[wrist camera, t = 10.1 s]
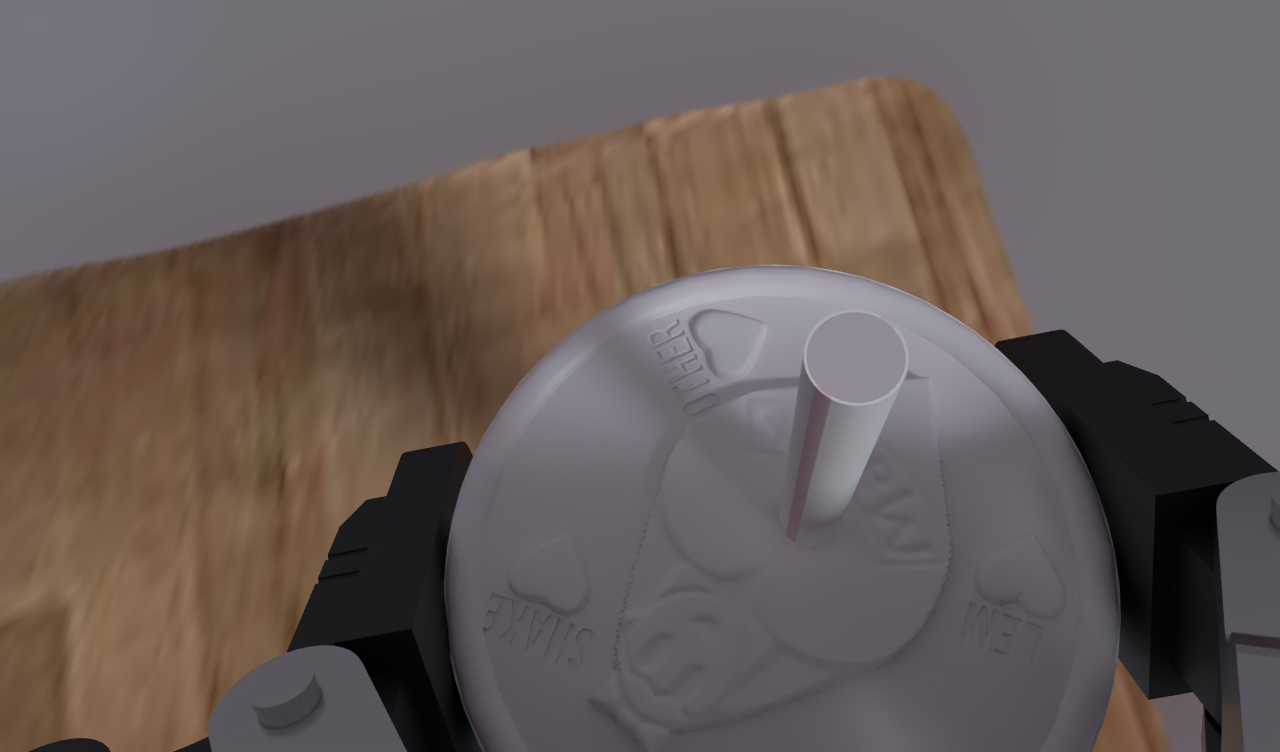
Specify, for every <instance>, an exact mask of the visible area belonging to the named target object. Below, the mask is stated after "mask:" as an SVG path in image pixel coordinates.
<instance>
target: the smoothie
mask: <svg viewBox="0 0 1280 752" xmlns="http://www.w3.org/2000/svg"><path fill="white" fill-rule="evenodd" d="M444 593H445V603H446V614H447V625H448V637H449V647H450V657H451V662H452V667H453V672H454V677H455V681H456V684H457V687H458V690H459V694H460V697H461V700H462V703H463V707H464V710H465V712H466V715H467V717H468V720H469V722H470V724H471V727H472V729H473V732H474V734H475V736H476V739H477V741H478V743H479V745H480V747H481V749H482V751H483V752H1092V749H1093V746H1094V744H1095V741H1096V739H1097V736H1098V734H1099V731H1100V729H1101V726H1102V724H1103V721H1104V718H1105V714H1106V710H1107V707H1108V703H1109V699H1110V696H1111V692H1112V689H1113V684H1114V678H1115V671H1116V665H1117V659H1118V653H1119V638H1120V621H1121V613H1120V589H1119V578H1118V571H1117V564H1116V557H1115V550H1114V546H1113V542H1112V538H1111V534H1110V530H1109V525H1108V522H1107V519H1106V516H1105V513H1104V510H1103V507H1102V504H1101V501H1100V498H1099V495H1098V492H1097V490H1096V487H1095V484H1094V481H1093V479H1092V477H1091V475H1090V472H1089V470H1088V468H1087V466H1086V464H1085V462H1084V460H1083V457H1082V455H1081V453H1080V452H1079V450H1078V448H1077V446H1076V445H1075V443H1074V441H1073V440H1072V438H1071V436H1070V434H1069V433H1068V431H1067V429H1066V428H1065V426H1064V424H1063V423H1062V422H1061V420H1060V419H1059V417H1058V416H1057V415H1056V413H1055V412H1054V410H1053V409H1052V408H1051V406H1050V405H1049V403H1048V402H1047V401H1046V399H1045V398H1044V397H1043V396H1042V395H1041V393H1040V392H1039V391H1038V390H1037V389H1036V388H1035V386H1034V385H1033V384H1032V383H1031V382H1030V381H1029V380H1028V378H1027V377H1026V376H1025V375H1024V374H1023V373H1022V372H1021V371H1020V370H1019V369H1018V368H1017V367H1016V366H1015V365H1014V364H1013V363H1012V362H1011V361H1010V360H1009V359H1008V358H1007V357H1006V356H1004V355H1003V354H1002V353H1001V352H1000V351H999V350H998V349H997V348H995V347H994V346H993V345H992V344H990V343H989V342H988V341H987V340H985V339H984V338H983V337H982V336H980V335H979V334H978V333H977V332H975V331H974V330H972V329H971V328H969V327H968V326H966V325H965V324H963V323H962V322H960V321H959V320H957V319H956V318H954V317H953V316H951V315H950V314H948V313H946V312H944V311H942V310H940V309H939V308H937V307H935V306H933V305H931V304H929V303H928V302H926V301H924V300H922V299H920V298H917V297H915V296H913V295H911V294H908V293H906V292H904V291H901V290H899V289H897V288H894V287H891V286H888V285H885V284H882V283H879V282H877V281H874V280H871V279H868V278H864V277H860V276H856V275H852V274H847V273H843V272H839V271H834V270H827V269H821V268H814V267H807V266H792V265H747V266H738V267H730V268H721V269H715V270H710V271H705V272H701V273H696V274H691V275H687V276H684V277H681V278H677V279H674V280H671V281H667V282H664V283H661V284H658V285H656V286H653V287H651V288H648V289H646V290H643V291H641V292H639V293H636V294H634V295H632V296H630V297H628V298H626V299H624V300H622V301H620V302H618V303H616V304H614V305H612V306H610V307H608V308H607V309H605V310H604V311H602V312H600V313H599V314H597V315H596V316H594V317H592V318H591V319H589V320H588V321H586V322H584V323H583V324H582V325H580V326H579V327H578V328H576V329H575V330H574V331H573V332H571V333H570V334H569V335H567V336H566V337H565V338H563V339H562V340H561V341H560V342H559V343H557V344H556V345H555V346H554V347H553V348H552V349H551V350H550V351H549V352H548V353H547V354H546V355H544V356H543V357H542V358H541V359H540V360H539V361H538V362H537V363H536V364H535V365H534V367H533V368H532V369H531V370H530V371H529V372H528V373H527V374H526V375H525V376H524V378H523V379H522V380H521V381H520V382H519V383H518V385H517V386H516V387H515V389H514V390H513V391H512V393H511V394H510V395H509V397H508V398H507V399H506V401H505V402H504V403H503V405H502V406H501V407H500V409H499V411H498V412H497V414H496V415H495V417H494V419H493V420H492V422H491V424H490V425H489V427H488V429H487V430H486V432H485V434H484V436H483V438H482V440H481V442H480V444H479V446H478V448H477V450H476V452H475V454H474V456H473V458H472V460H471V463H470V465H469V468H468V471H467V473H466V476H465V478H464V481H463V484H462V486H461V489H460V493H459V496H458V500H457V504H456V507H455V511H454V514H453V518H452V524H451V529H450V535H449V540H448V546H447V554H446V566H445V578H444Z"/></svg>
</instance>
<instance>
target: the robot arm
mask: <svg viewBox="0 0 1280 752" xmlns="http://www.w3.org/2000/svg"><path fill="white" fill-rule="evenodd" d="M994 347H995V348H997V349H998V350H999V351H1000V352H1001V353H1002V354H1003V355H1004V356H1006V357H1007V358H1008V359H1009V360H1010V361H1011V362H1012V363H1013V364H1014V365H1015V366H1016V367H1017V368H1018V369H1019V370H1020V371H1021V372H1022V373H1023V374H1024V375H1025V376H1026V377H1027V378H1028V380H1029V381H1030V382H1031V383H1032V384H1033V385H1034V386H1035V388H1036V389H1037V390H1038V391H1039V392H1040V393H1041V395H1042V396H1043V397H1044V398H1045V399H1046V401H1047V402H1048V403H1049V405H1050V406H1051V408H1052V409H1053V410H1054V412H1055V413H1056V415H1057V416H1058V417H1059V419H1060V420H1061V422H1062V423H1063V424H1064V426H1065V428H1066V429H1067V431H1068V433H1069V434H1070V436H1071V438H1072V440H1073V441H1074V443H1075V445H1076V446H1077V448H1078V450H1079V452H1080V453H1081V455H1082V457H1083V460H1084V462H1085V464H1086V466H1087V468H1088V470H1089V472H1090V475H1091V477H1092V479H1093V481H1094V484H1095V487H1096V490H1097V492H1098V495H1099V498H1100V501H1101V504H1102V507H1103V510H1104V513H1105V516H1106V519H1107V522H1108V525H1109V530H1110V534H1111V538H1112V542H1113V546H1114V550H1115V557H1116V564H1117V571H1118V578H1119V589H1120V613H1121V621H1120V638H1119V653H1118V658H1119V659H1120V661H1121V662H1122V663H1123V665H1124V666H1125V668H1126V669H1127V670H1128V672H1129V673H1130V675H1131V676H1132V677H1133V679H1134V680H1135V682H1136V683H1137V684H1138V686H1139V687H1140V689H1141V690H1142V691H1143V693H1144V694H1145V696H1146V697H1147V698H1148V700H1150V699H1156V698H1161V697H1167V696H1173V695H1179V694H1184V693H1190V692H1193V693H1194V694H1195V695H1196V696H1197V697H1198V699H1199V700H1200V701H1201V703H1202V704H1203V720H1202V735H1201V743H1202V752H1280V472H1279V471H1277V470H1276V469H1275V468H1274V467H1272V466H1271V465H1270V464H1269V463H1267V462H1266V461H1265V460H1264V459H1262V458H1261V457H1260V456H1259V455H1257V454H1256V453H1255V452H1254V451H1252V450H1251V449H1250V448H1249V447H1247V446H1246V445H1245V444H1244V443H1242V442H1241V441H1240V440H1239V439H1237V438H1236V437H1235V436H1234V435H1232V434H1231V433H1230V432H1229V431H1227V430H1226V429H1225V428H1224V427H1222V426H1221V425H1220V424H1219V423H1217V422H1216V421H1215V420H1212V421H1210V420H1209V417H1208V415H1207V414H1206V413H1205V412H1203V411H1202V410H1201V409H1200V408H1199V407H1197V406H1196V405H1195V404H1194V403H1192V402H1187V401H1186V397H1185V396H1184V395H1182V394H1181V393H1180V392H1179V391H1177V390H1176V389H1175V388H1173V387H1172V386H1171V385H1170V384H1169V383H1167V382H1166V381H1165V380H1164V379H1162V378H1161V377H1160V376H1158V375H1156V374H1153V373H1150V372H1148V371H1145V370H1142V369H1139V368H1137V367H1134V366H1131V365H1129V364H1126V363H1123V362H1121V361H1118V360H1117V361H1111V362H1106V363H1103V362H1102V361H1100V360H1099V359H1098V358H1097V357H1096V356H1094V355H1093V354H1092V353H1091V352H1090V351H1089V350H1088V349H1087V348H1085V347H1084V346H1083V345H1082V344H1081V343H1080V342H1078V341H1077V340H1076V339H1075V338H1073V336H1071V335H1070V334H1069V333H1068V332H1066V331H1065V330H1056V331H1050V332H1044V333H1039V334H1034V335H1029V336H1023V337H1018V338H1013V339H1007V340H1002V341H998V342H997V343H996V344H995V346H994ZM472 458H473V456H472V453H471V451H470V449H469V447H468V445H467V444H466V443H465V442H463V441H462V442H457V443H452V444H446V445H441V446H436V447H431V448H425V449H420V450H415V451H410V452H405V453H403V454H402V456H401V458H400V461H399V463H398V466H397V469H396V472H395V474H394V477H393V480H392V483H391V485H390V488H389V491H388V494H387V496H385V497H379V498H374V499H369V500H366V501H365V502H364V503H363V504H362V505H361V506H360V507H359V508H358V509H357V510H356V511H355V512H354V513H353V514H352V515H351V516H350V517H349V518H348V519H347V520H346V521H345V522H344V523H343V524H342V525H341V526H340V527H339V530H338V532H337V534H336V537H335V539H334V541H333V544H332V546H331V549H330V551H329V553H328V559H329V560H326V561H325V563H324V565H323V567H322V570H321V572H320V575H319V577H318V580H319V583H318V584H315V586H314V589H313V591H312V594H311V596H310V598H309V601H308V603H307V605H306V608H305V610H304V612H303V615H302V617H301V620H300V622H299V624H298V627H297V629H296V631H295V634H294V636H293V638H292V641H291V643H290V646H289V648H288V650H287V653H285V654H282V655H280V656H278V657H275V658H273V659H271V660H269V661H267V662H265V663H263V664H261V665H260V666H258V667H257V668H255V669H254V670H252V671H250V672H249V673H248V674H246V675H245V676H244V677H242V678H241V679H240V680H239V681H237V682H236V683H235V684H234V685H233V686H232V687H231V688H230V689H229V690H228V691H227V692H226V693H225V695H224V696H223V697H222V698H221V699H220V701H219V702H218V704H217V706H216V707H215V709H214V711H213V713H212V715H211V718H210V721H209V726H208V735H209V736H208V737H207V738H205V739H202V740H200V741H198V742H196V743H194V744H191V745H189V746H187V747H184V748H182V749H179V750H177V751H174V752H483V751H482V749H481V747H480V745H479V743H478V741H477V739H476V736H475V734H474V732H473V729H472V727H471V724H470V722H469V720H468V717H467V715H466V712H465V710H464V707H463V703H462V700H461V697H460V694H459V690H458V687H457V684H456V681H455V677H454V672H453V667H452V662H451V657H450V647H449V637H448V625H447V614H446V603H445V593H444V578H445V566H446V554H447V546H448V540H449V535H450V529H451V524H452V518H453V514H454V511H455V507H456V504H457V500H458V496H459V493H460V489H461V486H462V484H463V481H464V478H465V476H466V473H467V471H468V468H469V465H470V463H471V460H472ZM29 752H110V750H109V748H108V747H107V746H106V745H104V744H103V743H102V742H99V741H97V740H93V739H87V738H75V739H68V740H62V741H58V742H54V743H50V744H47V745H44V746H42V747H39V748H36V749H34V750H31V751H29Z"/></svg>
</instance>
